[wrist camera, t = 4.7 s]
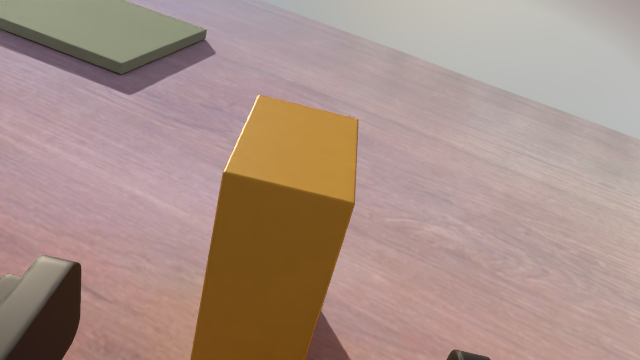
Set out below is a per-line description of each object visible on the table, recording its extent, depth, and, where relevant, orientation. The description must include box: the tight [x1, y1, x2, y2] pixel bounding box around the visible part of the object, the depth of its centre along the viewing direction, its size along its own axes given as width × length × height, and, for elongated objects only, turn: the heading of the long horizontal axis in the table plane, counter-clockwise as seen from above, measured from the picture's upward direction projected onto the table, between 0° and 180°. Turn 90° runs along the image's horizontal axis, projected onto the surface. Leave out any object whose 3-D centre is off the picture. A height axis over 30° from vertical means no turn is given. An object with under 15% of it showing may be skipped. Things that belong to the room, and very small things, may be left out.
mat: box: [0, 0, 207, 74], centre depth 54 cm, size 18×14×1 cm
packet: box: [191, 95, 358, 360], centre depth 25 cm, size 4×7×10 cm, turn 176°
